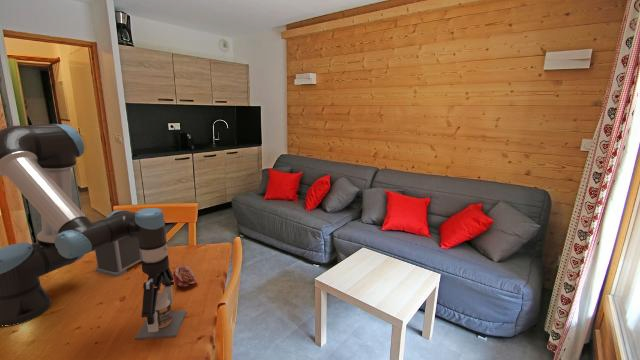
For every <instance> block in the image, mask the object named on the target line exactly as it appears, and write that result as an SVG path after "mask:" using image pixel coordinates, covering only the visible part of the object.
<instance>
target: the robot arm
mask: <svg viewBox="0 0 640 360" xmlns="http://www.w3.org/2000/svg"><path fill="white" fill-rule="evenodd" d="M84 153H85V143H84V141H83V138H82V136H81V134H80V133H79V132H78V131H77V130H76V128H74V127H73V126H71V125H69V124H62V123H61V124H60V123H59V124H58V123H47V124H46V123H45V124H32V125H31V124H30V125H28V124H27V125H10V126H7V127H4V128H2V129H0V176H4V177H6V178H7V179H8V180H9V181H10V182H11V183H12V184H13V185H14V186H15V187H16V188H17V189H18V191H19V192H20V193H21V194H22V196H24V198H25V199H26V200H27V201H28V202H29V203H30V204H31V205H32V206H33V208H35V210H37V212H38V213H39V214H40V217H41V218H40V220H41V231H39V232H38V233H37V235H36V242H35V243H30V242H27V241H26V242H17V243H15V244H13V243H12V244H9V245H6V246H3V247H1V248H0V326H2V325H3V326H4V327H6V326H5V325H11V326H14V325H13V324H16V325H18V324H17V323H19V324H22V323H25V322H28V321H31V320H32V318H33V319H34V317H35V318H37V317H39V316H40V315H42V314H43V313H45V312H46V311H47V310H48V309H49V308H50V307H51V305H52V299H51V298H52V297H51V296H50V295H49V293H47V292H46V290H45V289H44V287H43V286H42V284H41V281H40V277H42V276H44V275H47V274H49V273H52V272H55V271H56V270H60V268H63V267H65V266H68V265H73V264H74V263H76V262H78V261H79V260H81V259H82V258H84V257H85V255H87V254H89V253H90V252H93V251H95V249H98V248H100V247H102V246H105V245H108V244H110V243H113V242H115V241H118V240H120V239H123V238H125V237H132V238H138V242H139V251H140V259H141V260H142V261H140V265H141V271H142V272H143V274H144V275H145V274H146V275H147V281H144V282H143V285H142V286H143V295H142V296H143V297H142V309H141V318H146V319H147V326H148V332H158V330H159V329H158V321H157V313H156V312H155V307H156V301H157V295H158V293H159V291H160V290H161V284H162V293H166V294H167V295H168V300H169V301H170V305H173V304H174V298H173V297H174V296H173V287H172V286H174V285H175V281H174V276H173V273H172V271H171V268H170V261H169V255H168V253H169V251H168V250H169V248H170V247H169V246H168V245H167V244H168V243H167V234H166V224H165V223H166V220H165V217H164V212H163V210H162V209H160V208H159V207H152V208H151V207H146V208H141V209H140V210H137V211H136V212H134V211H130V210H124V209H123V210H122V209H118V210H114V211H111V212H110V213H109V214H108V215H107V216H106V218H103V219H99V220H96V221H93V222H92V221H91V220H90V219H89V218H88V216H87V215H85V214H84V213H83V211H82V210H81V209H80V208H79V207H78V206H77V205H76V204H75V202H73V196H72V195H73V194H72V193H73V191H72V168H74V167H75V166H76V165H77V158H80V157H81V156H82V155H84ZM146 319H145V320H146ZM27 320H28V321H27ZM24 321H25V322H24ZM21 322H22V323H21Z"/></svg>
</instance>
